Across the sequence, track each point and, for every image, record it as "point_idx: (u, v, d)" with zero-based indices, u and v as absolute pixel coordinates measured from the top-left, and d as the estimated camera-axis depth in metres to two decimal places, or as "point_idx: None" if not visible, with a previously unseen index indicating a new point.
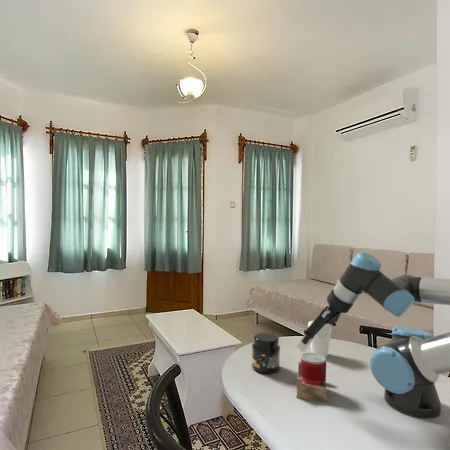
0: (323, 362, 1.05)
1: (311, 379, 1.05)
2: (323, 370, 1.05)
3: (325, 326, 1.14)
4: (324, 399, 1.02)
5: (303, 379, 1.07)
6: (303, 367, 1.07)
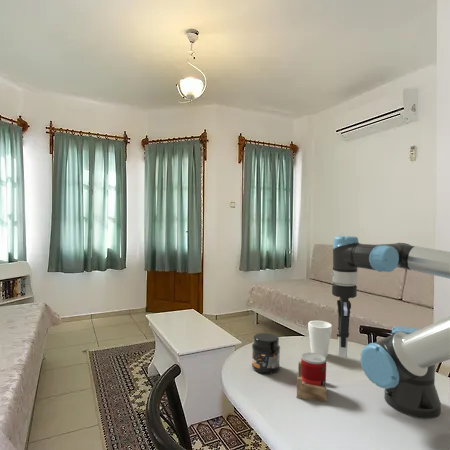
0: (323, 362, 1.05)
1: (311, 379, 1.05)
2: (323, 370, 1.05)
3: None
4: (324, 399, 1.02)
5: (303, 379, 1.07)
6: (303, 367, 1.07)
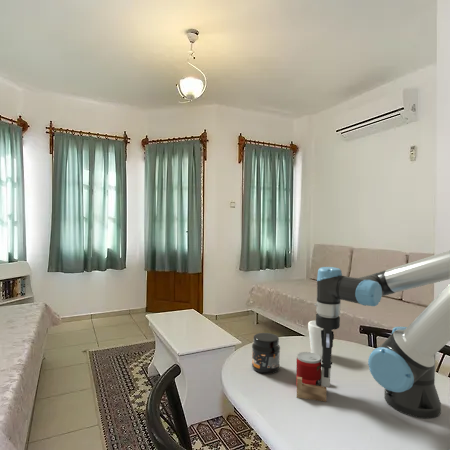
0: (318, 361, 1.06)
1: (306, 378, 1.05)
2: (318, 370, 1.06)
3: None
4: (324, 399, 1.02)
5: None
6: (298, 366, 1.08)
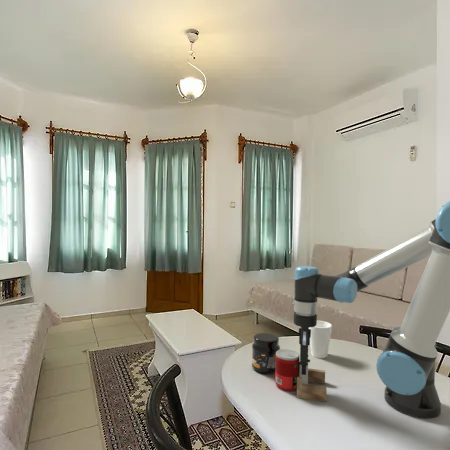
0: (295, 359, 1.07)
1: (283, 375, 1.08)
2: (295, 367, 1.08)
3: None
4: (324, 399, 1.02)
5: (276, 374, 1.10)
6: (276, 363, 1.10)
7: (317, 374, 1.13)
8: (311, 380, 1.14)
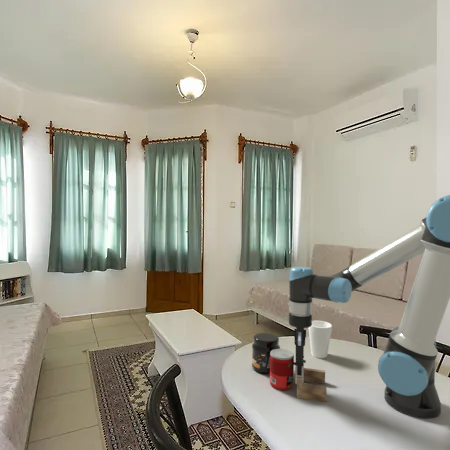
0: (289, 358, 1.08)
1: (277, 374, 1.08)
2: (289, 366, 1.08)
3: None
4: (324, 399, 1.02)
5: (271, 374, 1.10)
6: (271, 362, 1.10)
7: (317, 374, 1.13)
8: (311, 380, 1.14)
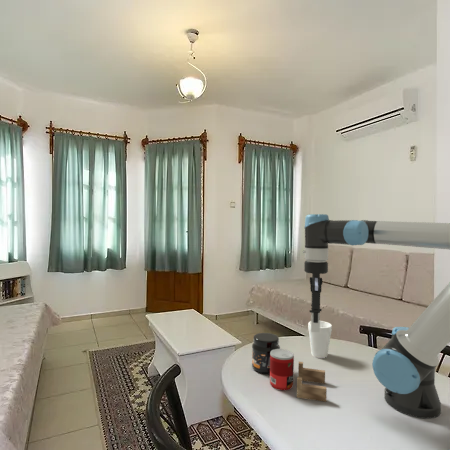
0: (289, 358, 1.08)
1: (277, 374, 1.08)
2: (289, 366, 1.08)
3: None
4: (324, 399, 1.02)
5: (271, 374, 1.10)
6: (271, 362, 1.10)
7: (317, 374, 1.13)
8: (311, 380, 1.14)
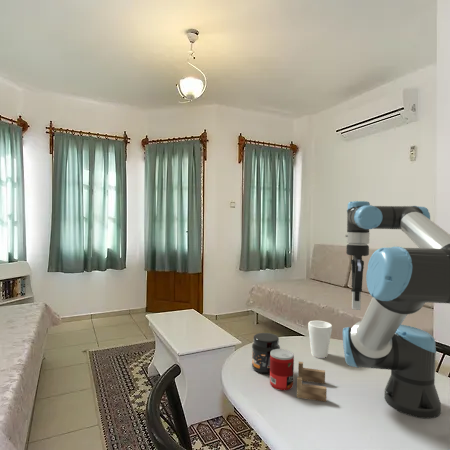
0: (289, 358, 1.08)
1: (277, 374, 1.08)
2: (289, 366, 1.08)
3: None
4: (324, 399, 1.02)
5: (271, 374, 1.10)
6: (271, 362, 1.10)
7: (317, 374, 1.13)
8: (311, 380, 1.14)
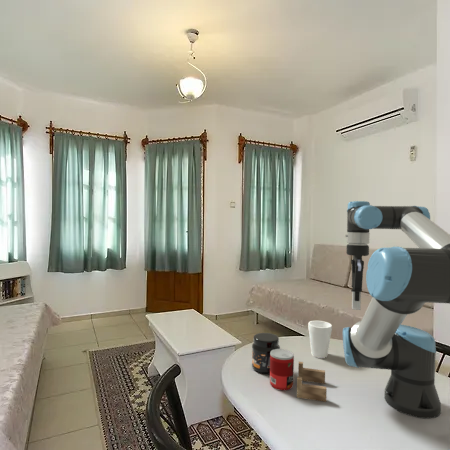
0: (289, 358, 1.08)
1: (277, 374, 1.08)
2: (289, 366, 1.08)
3: None
4: (324, 399, 1.02)
5: (271, 374, 1.10)
6: (271, 362, 1.10)
7: (317, 374, 1.13)
8: (311, 380, 1.14)
